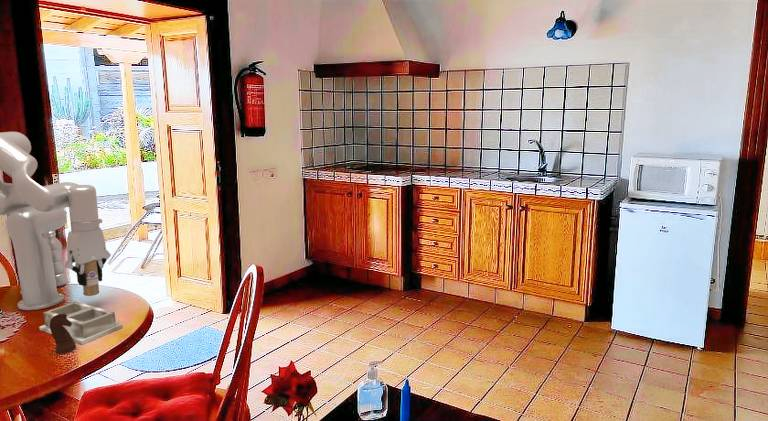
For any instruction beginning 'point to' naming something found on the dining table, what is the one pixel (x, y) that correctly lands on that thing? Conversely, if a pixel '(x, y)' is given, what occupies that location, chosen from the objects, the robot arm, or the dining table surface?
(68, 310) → the slot rack
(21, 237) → the robot arm
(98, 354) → the dining table surface
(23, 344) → the dining table surface
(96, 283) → the sprinkles bottle
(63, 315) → the chess piece
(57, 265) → the plastic bottle
